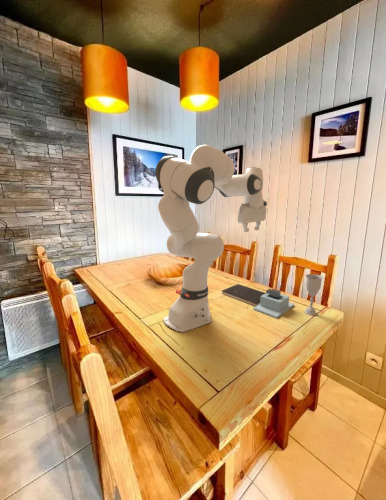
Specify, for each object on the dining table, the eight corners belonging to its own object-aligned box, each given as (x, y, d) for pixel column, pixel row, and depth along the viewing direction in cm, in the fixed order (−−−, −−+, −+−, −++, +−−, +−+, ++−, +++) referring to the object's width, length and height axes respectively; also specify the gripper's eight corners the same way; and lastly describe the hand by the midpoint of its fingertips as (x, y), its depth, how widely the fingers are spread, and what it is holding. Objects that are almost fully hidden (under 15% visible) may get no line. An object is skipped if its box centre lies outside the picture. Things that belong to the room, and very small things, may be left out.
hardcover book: (255, 307, 113) (256, 303, 113) (221, 294, 130) (221, 290, 130) (272, 298, 124) (272, 294, 123) (238, 287, 141) (238, 283, 140)
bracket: (276, 308, 109) (277, 292, 108) (265, 304, 114) (266, 289, 112) (279, 306, 111) (280, 290, 110) (268, 302, 116) (269, 287, 114)
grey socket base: (276, 318, 102) (277, 306, 101) (253, 309, 110) (254, 298, 109) (294, 305, 114) (295, 294, 113) (271, 298, 122) (272, 288, 121)
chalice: (312, 317, 102) (316, 280, 98) (298, 311, 108) (302, 275, 104) (322, 314, 105) (326, 277, 101) (309, 308, 111) (312, 273, 107)
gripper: (246, 203, 101) (245, 234, 104) (269, 202, 115) (267, 229, 118) (234, 203, 106) (234, 232, 109) (258, 202, 119) (256, 228, 122)
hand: (251, 231), depth 113 cm, fingers open, 8 cm apart
